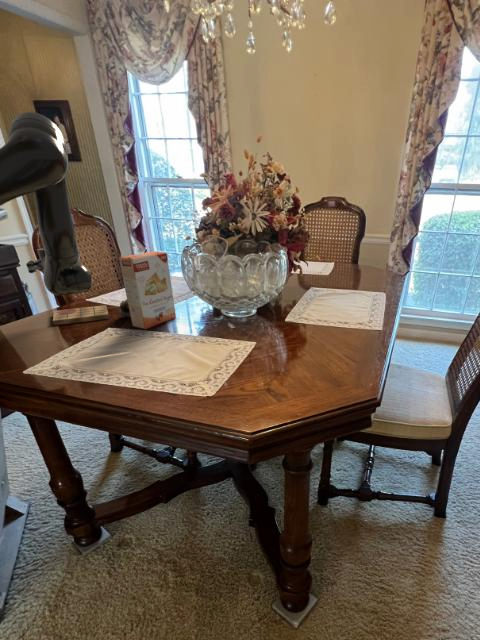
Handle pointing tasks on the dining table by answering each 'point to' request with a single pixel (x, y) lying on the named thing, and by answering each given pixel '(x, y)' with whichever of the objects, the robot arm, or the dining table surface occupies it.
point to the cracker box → (148, 288)
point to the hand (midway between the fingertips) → (49, 261)
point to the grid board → (80, 315)
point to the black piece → (41, 253)
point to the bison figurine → (124, 309)
